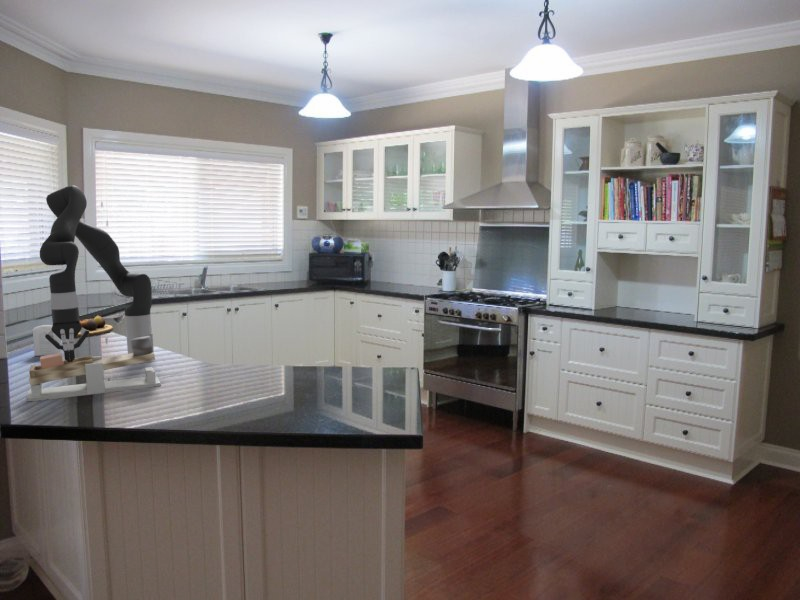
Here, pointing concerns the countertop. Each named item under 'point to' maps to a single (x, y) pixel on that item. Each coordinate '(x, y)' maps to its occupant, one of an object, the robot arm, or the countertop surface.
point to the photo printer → (44, 341)
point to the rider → (51, 360)
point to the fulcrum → (94, 384)
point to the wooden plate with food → (95, 326)
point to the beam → (77, 367)
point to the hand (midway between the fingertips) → (70, 361)
